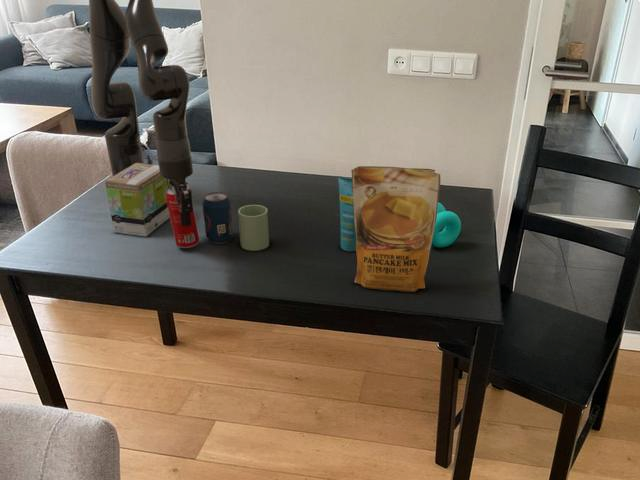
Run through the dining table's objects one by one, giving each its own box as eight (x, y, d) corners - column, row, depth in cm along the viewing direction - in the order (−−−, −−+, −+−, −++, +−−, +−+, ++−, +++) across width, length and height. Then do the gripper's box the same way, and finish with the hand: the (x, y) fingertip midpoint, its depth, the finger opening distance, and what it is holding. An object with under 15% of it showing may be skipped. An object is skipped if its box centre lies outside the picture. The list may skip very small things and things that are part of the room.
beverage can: (204, 242, 150) (197, 187, 142) (184, 252, 145) (176, 195, 137) (187, 236, 152) (180, 181, 145) (168, 245, 147) (159, 190, 140)
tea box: (148, 237, 153) (139, 184, 146) (113, 233, 155) (102, 180, 147) (175, 214, 166) (168, 164, 158) (142, 210, 167) (134, 161, 160)
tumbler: (236, 241, 153) (233, 207, 148) (263, 235, 156) (260, 202, 151) (246, 253, 147) (244, 218, 143) (273, 247, 151) (272, 213, 146)
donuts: (428, 252, 151) (431, 217, 145) (409, 236, 158) (411, 202, 153) (460, 245, 154) (465, 211, 149) (440, 230, 162) (444, 196, 157)
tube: (333, 249, 151) (334, 178, 141) (340, 241, 155) (340, 172, 145) (361, 254, 149) (363, 183, 139) (366, 245, 153) (369, 176, 143)
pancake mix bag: (350, 273, 140) (353, 161, 126) (430, 279, 139) (442, 166, 125) (347, 287, 134) (349, 171, 120) (430, 294, 133) (442, 178, 119)
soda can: (204, 235, 155) (199, 193, 149) (230, 231, 158) (226, 189, 152) (209, 246, 150) (204, 203, 144) (236, 242, 152) (232, 199, 146)
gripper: (199, 162, 133) (207, 229, 142) (181, 144, 144) (189, 207, 152) (165, 167, 130) (175, 235, 138) (150, 148, 140) (160, 212, 149)
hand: (183, 220), depth 145 cm, fingers closed on beverage can, 5 cm apart
